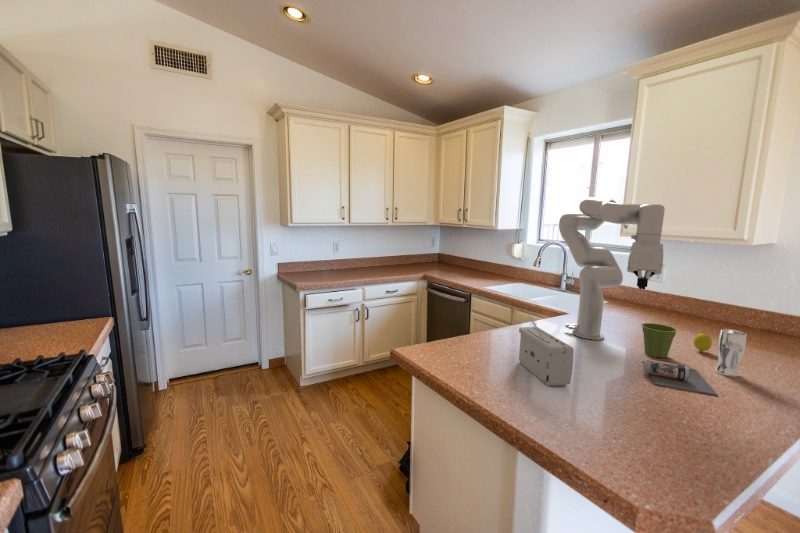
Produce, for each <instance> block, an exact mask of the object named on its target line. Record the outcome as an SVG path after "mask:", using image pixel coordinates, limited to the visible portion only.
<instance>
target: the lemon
mask: <svg viewBox="0 0 800 533" xmlns="http://www.w3.org/2000/svg"><path fill="white" fill-rule="evenodd" d="M693 345H694V347H695V348H696V350H698V351H699V352H700V353H703V352H706V351H708V350H710V349H711V348H712V338H711V337H710V335H708V334H707V333H706V332H702V333H698V334H696V335H695V336H694V339H693Z"/></svg>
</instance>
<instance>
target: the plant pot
mask: <svg viewBox="0 0 800 533" xmlns="http://www.w3.org/2000/svg"><path fill="white" fill-rule="evenodd" d="M640 325H641V327H642V332H643V344H644V346H643V347H644V353H645V354H646V355H648V356H651V357H654V358H658V357H659V358H660V359H664V358H665V359H666V358H668V355H669V352H670V350H671V346H672V344H673V340H674V338H675V336H676V334H677V333H678V332H679V329H678V328H676V327H673V326H670V325H667V324H661V323H654V322H652V323H651V322H644V323H643V322H642V323H641V324H640Z"/></svg>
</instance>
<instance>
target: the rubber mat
mask: <svg viewBox="0 0 800 533" xmlns="http://www.w3.org/2000/svg"><path fill="white" fill-rule="evenodd" d="M643 362H644V360H642V362H641V363H642V364H643ZM648 376H649V378H650V379H651V381H652V383H653V385H654V386H658V387H663V388H664V387H665V388H670V389H676V390H682V391H686V392H693V393H698V394H704V395H709V396H715V397H718V396H719V394H718V393H717V392H716V390H714V388H713V387H712V386H711V385H710V384H709V383H708V382H707V380H705V378H704V377H703V376H702V375H701V374H700V373H699V372H698V371H697V369H693V368H689V378H688V380H685V381H682V380H677V379H672V378H667V377H661V376H656V375H651V374H648Z"/></svg>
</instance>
